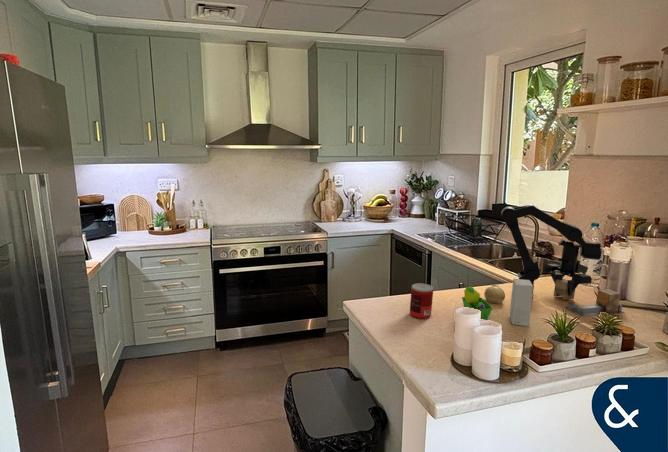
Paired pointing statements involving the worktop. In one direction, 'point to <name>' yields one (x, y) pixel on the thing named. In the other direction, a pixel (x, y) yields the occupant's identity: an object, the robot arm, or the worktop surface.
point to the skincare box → (521, 302)
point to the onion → (494, 294)
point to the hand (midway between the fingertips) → (564, 293)
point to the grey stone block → (562, 289)
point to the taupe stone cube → (608, 299)
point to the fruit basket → (476, 302)
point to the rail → (585, 314)
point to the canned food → (421, 301)
